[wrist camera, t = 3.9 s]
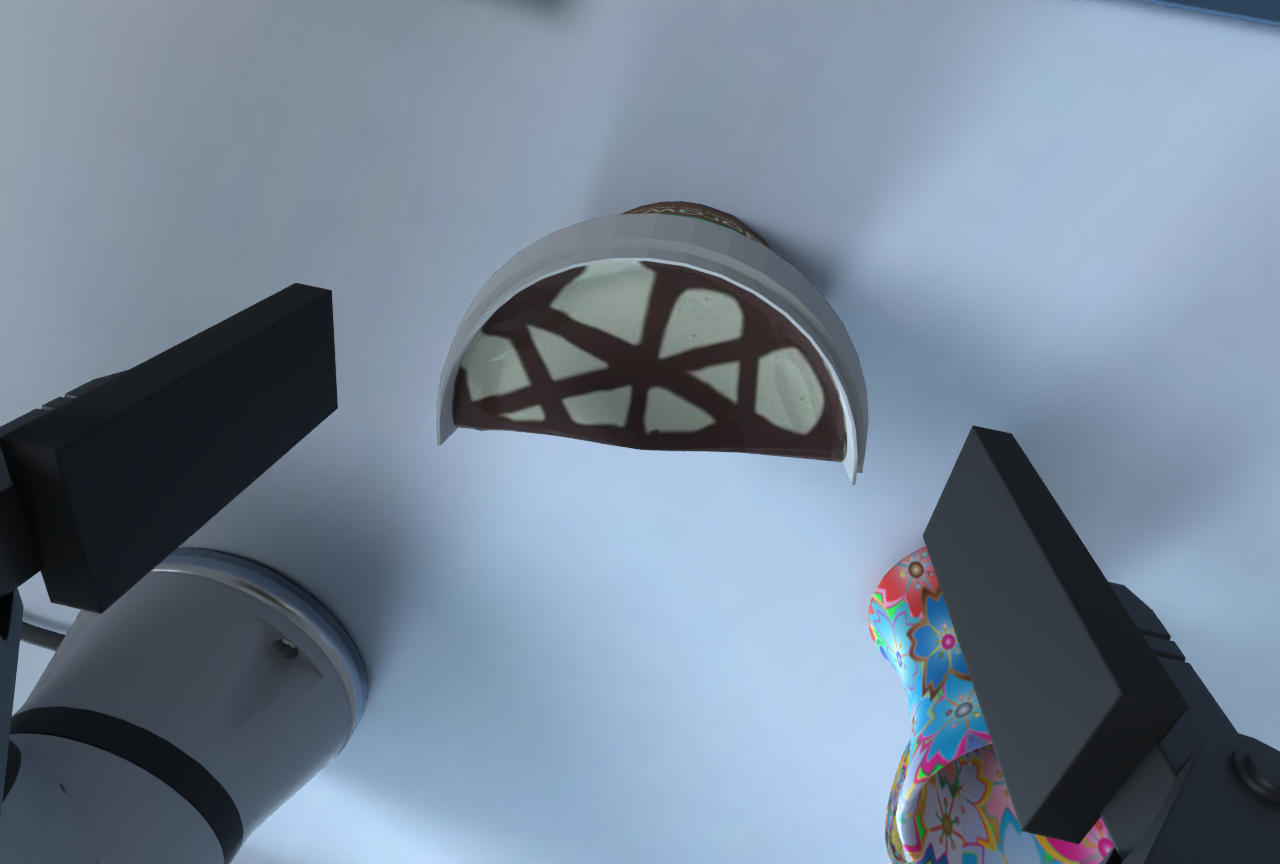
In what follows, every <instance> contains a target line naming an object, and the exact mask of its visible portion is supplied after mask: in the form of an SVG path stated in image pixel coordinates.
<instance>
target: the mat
mask: <svg viewBox="0 0 1280 864" xmlns="http://www.w3.org/2000/svg"><path fill="white" fill-rule="evenodd" d="M1137 1H1143V2H1148V3H1154V4H1159V5H1165V6H1170V7H1176V8H1181V9H1187V10H1192V11H1198V12H1203V13H1209V14H1214V15H1220V16H1225V17H1231V18H1236V19H1242V20H1247V21H1253V22H1258V23H1264V24H1269V25H1275V26H1280V0H1137Z"/></svg>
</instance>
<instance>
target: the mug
mask: <svg viewBox="0 0 1280 864" xmlns="http://www.w3.org/2000/svg"><path fill="white" fill-rule="evenodd" d="M869 629H870V633H871V636H872V639H873V641H874V644H875V645H876V647H877V649H878V650H879V652H880V653H881V655H882V656H883V657H884V658H885V659H886V660H887V662H888V663H889V664H891V665H892V666H893V667H894V668H895V670H896V671H897V673H898V675H899V676H900V678H901V680H902V683H903V686H904V688H905V691H906V695H907V699H908V703H909V708H910V716H911V738H910V740H909V742H908V744H907V746H906V748H905V750H904V752H903V755H902V757H901V760H900V762H899V765H898V768H897V771H896V774H895V777H894V780H893V784H892V788H891V792H890V796H889V801H888V806H887V813H886V822H885V843H886V850H887V854H888V857H889V859H890V861H891V862H892V864H1099V863H1100V862H1101V861H1102V860H1103V858H1104V857H1105V856H1106V855H1107V854H1108V853H1109V851H1110V850H1111V849H1112V848H1113V847H1114V845H1113V842H1112V840H1111V838H1110V836H1109V833H1108V831H1107V829H1106V827H1105V824H1104V822H1103V820H1102V818H1101V817H1100V819H1099V820H1098V821H1097V822H1096V824H1095V825H1094V826H1093V827H1092V829H1091V830H1090V831H1089V832H1088V834H1087V835H1086V836H1085V837H1084V839H1083V840H1082V841H1081V842H1080V844H1079V845H1078V844H1074V843H1070V842H1066V841H1061V840H1057V839H1053V838H1049V837H1044V836H1040V835H1036V834H1032V833H1027V832H1023V831H1021V828H1020V825H1019V822H1018V819H1017V816H1016V813H1015V810H1014V807H1013V804H1012V801H1011V798H1010V795H1009V792H1008V789H1007V786H1006V783H1005V780H1004V777H1003V774H1002V771H1001V768H1000V765H999V762H998V759H997V756H996V753H995V750H994V747H993V744H992V741H991V738H990V736H989V733H988V730H987V727H986V724H985V721H984V718H983V715H982V712H981V709H980V706H979V703H978V700H977V697H976V694H975V691H974V688H973V685H972V682H971V679H970V676H969V673H968V670H967V667H966V664H965V661H964V658H963V655H962V652H961V649H960V646H959V643H958V640H957V637H956V634H955V631H954V628H953V625H952V622H951V619H950V616H949V613H948V610H947V607H946V604H945V601H944V598H943V595H942V592H941V589H940V586H939V583H938V580H937V577H936V574H935V571H934V568H933V565H932V562H931V559H930V556H929V553H928V550H927V547H923V548H921V549H919V550H917V551H915V552H913V553H912V554H910V555H908V556H907V557H905V558H904V559H902V560H901V561H900V562H899V563H897V564H896V565H895V566H894V567H893V568H892V569H891V570H890V571H889V572H888V573H887V574H886V575H885V576H884V577H883V579H882V580H881V582H880V583H879V584H878V586H877V588H876V590H875V592H874V594H873V597H872V599H871V603H870V608H869ZM902 844H903V846H904V848H905V850H906V851H907V853H908V854H909V856H910V857H911V859H912V860H913V862H909V863H908V862H907V861H906V859H905V856H904V853H903V847H902Z"/></svg>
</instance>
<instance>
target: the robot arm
mask: <svg viewBox="0 0 1280 864" xmlns="http://www.w3.org/2000/svg"><path fill="white" fill-rule="evenodd" d="M337 408H338V404H337V384H336V365H335V345H334V326H333V306H332V290H327V289H323V288H318V287H313V286H308V285H304V284H299V283H295V284H293V285H291V286H289V287H287V288H285V289H283V290H281V291H279V292H277V293H275V294H274V295H272V296H270V297H268V298H266V299H264V300H262V301H260V302H258V303H256V304H254V305H252V306H251V307H249V308H247V309H245V310H243V311H241V312H239V313H237V314H235V315H233V316H231V317H229V318H228V319H226V320H224V321H222V322H220V323H218V324H216V325H214V326H212V327H210V328H208V329H206V330H205V331H203V332H201V333H199V334H197V335H195V336H193V337H191V338H189V339H187V340H185V341H183V342H182V343H180V344H178V345H176V346H174V347H172V348H170V349H168V350H166V351H164V352H162V353H160V354H158V355H157V356H155V357H153V358H151V359H149V360H147V361H145V362H143V363H141V364H139V365H137V366H135V367H134V368H132V369H130V370H126V371H123V372H119V373H116V374H112V375H108V376H105V377H101V378H97V379H94V380H92V381H90V382H88V383H86V384H84V385H82V386H80V387H78V388H76V389H74V390H72V391H70V392H68V393H66V394H65V397H64V398H63V397H58V398H56V399H54V400H52V401H50V402H48V403H46V404H44V405H42V409H41V410H40V409H34V410H33V411H31V412H29V413H27V414H25V415H23V416H21V417H19V418H17V419H15V420H13V421H11V422H9V423H7V424H5V425H3V426H1V427H0V864H231V862H232V861H233V859H234V858H235V856H236V854H237V853H238V851H239V850H240V848H241V847H242V845H243V844H244V842H245V841H246V839H247V838H248V837H249V836H250V834H251V833H252V832H253V831H254V830H256V829H257V828H258V827H259V826H260V825H261V824H262V823H263V822H264V821H265V820H267V819H268V818H269V817H270V816H271V815H272V814H273V813H274V812H275V811H277V810H278V809H279V808H280V807H281V806H282V805H283V804H284V803H285V802H286V801H288V800H289V799H290V798H291V797H292V796H293V795H294V794H295V793H296V792H297V791H299V790H300V789H301V788H302V787H303V786H304V785H305V784H306V783H307V782H308V781H310V780H311V779H312V778H313V777H314V776H315V775H316V774H317V773H318V772H319V771H320V770H321V769H323V768H324V767H325V766H326V765H327V764H328V763H329V762H330V761H331V760H333V759H334V758H335V757H336V756H337V755H338V754H339V753H340V752H341V751H342V749H343V748H344V747H345V745H346V743H347V742H348V740H349V738H350V736H351V735H352V733H353V731H354V729H355V728H356V726H357V724H358V723H359V721H360V719H361V717H362V715H363V713H364V710H365V708H366V704H367V698H368V683H367V676H366V672H365V668H364V665H363V662H362V660H361V657H360V655H359V653H358V651H357V649H356V647H355V646H354V644H353V642H352V640H351V639H350V637H349V636H348V635H347V633H346V632H345V630H344V629H343V628H342V626H341V625H340V624H339V623H338V622H337V621H336V619H335V618H334V617H333V616H332V615H331V614H330V613H329V612H328V611H327V610H326V609H325V608H324V607H323V606H322V605H321V604H319V603H318V602H317V601H316V600H315V599H314V598H312V597H311V596H310V595H308V594H307V593H306V592H305V591H303V590H302V589H300V588H299V587H297V586H296V585H294V584H293V583H291V582H290V581H288V580H287V579H285V578H283V577H281V576H280V575H278V574H276V573H274V572H272V571H270V570H268V569H266V568H264V567H262V566H260V565H257V564H255V563H252V562H250V561H247V560H244V559H241V558H238V557H235V556H232V555H228V554H224V553H220V552H215V551H210V550H203V549H193V548H178V547H179V546H180V545H181V544H182V543H184V542H185V541H186V540H187V539H188V538H189V537H190V536H192V535H193V534H194V533H195V532H196V531H197V530H199V529H200V528H201V527H202V526H203V525H204V524H205V523H207V522H208V521H209V520H210V519H211V518H212V517H213V516H215V515H216V514H217V513H218V512H219V511H220V510H221V509H223V508H224V507H225V506H226V505H227V504H228V503H229V502H231V501H232V500H233V499H234V498H235V497H236V496H238V495H239V494H240V493H241V492H242V491H243V490H244V489H246V488H247V487H248V486H249V485H250V484H251V483H252V482H254V481H255V480H256V479H257V478H258V477H259V476H260V475H262V474H263V473H264V472H265V471H266V470H267V469H268V468H270V467H271V466H272V465H273V464H274V463H275V462H277V461H278V460H279V459H280V458H281V457H282V456H283V455H285V454H286V453H287V452H288V451H289V450H290V449H291V448H293V447H294V446H295V445H296V444H297V443H298V442H299V441H301V440H302V439H303V438H304V437H305V436H306V435H308V434H309V433H310V432H311V431H312V430H313V429H314V428H316V427H317V426H318V425H319V424H320V423H321V422H322V421H324V420H325V419H326V418H327V417H328V416H329V415H330V414H332V413H333V412H334V411H335V410H336V409H337ZM923 538H924V541H925V544H926V547H927V550H928V553H929V556H930V559H931V562H932V565H933V568H934V571H935V574H936V577H937V580H938V583H939V586H940V589H941V592H942V595H943V598H944V601H945V604H946V607H947V610H948V613H949V616H950V619H951V622H952V625H953V628H954V631H955V634H956V637H957V640H958V643H959V646H960V649H961V652H962V655H963V658H964V661H965V664H966V667H967V670H968V673H969V676H970V679H971V682H972V685H973V688H974V691H975V694H976V697H977V700H978V703H979V706H980V709H981V712H982V715H983V718H984V721H985V724H986V727H987V730H988V733H989V736H990V738H991V741H992V744H993V747H994V750H995V753H996V756H997V759H998V762H999V765H1000V768H1001V771H1002V774H1003V777H1004V780H1005V783H1006V786H1007V789H1008V792H1009V795H1010V798H1011V801H1012V804H1013V807H1014V810H1015V813H1016V816H1017V819H1018V822H1019V825H1020V828H1021V831H1023V832H1027V833H1032V834H1036V835H1040V836H1044V837H1049V838H1053V839H1057V840H1061V841H1066V842H1070V843H1074V844H1078V845H1079V844H1080V842H1081V841H1082V840H1083V839H1084V837H1085V836H1086V835H1087V834H1088V832H1089V831H1090V830H1091V829H1092V827H1093V826H1094V825H1095V824H1096V822H1097V821H1098V820H1099V819H1100V817H1101V818H1102V820H1103V822H1104V824H1105V827H1106V829H1107V831H1108V833H1109V836H1110V838H1111V840H1112V842H1113V845H1114V847H1113V848H1112V849H1111V850H1110V851H1109V853H1108V854H1107V855H1106V856H1105V857H1104V858H1103V860H1102V861H1101V862H1100V863H1099V864H1280V752H1279V751H1278V750H1276V749H1274V748H1272V747H1270V746H1268V745H1266V744H1264V743H1262V742H1260V741H1258V740H1257V739H1255V738H1252V737H1248V736H1245V735H1242V734H1238V732H1237V731H1236V730H1235V728H1234V727H1233V725H1232V724H1231V722H1230V721H1229V720H1228V718H1227V717H1226V715H1225V714H1224V712H1223V711H1222V709H1221V708H1220V707H1219V705H1218V704H1217V702H1216V701H1215V699H1214V698H1213V697H1212V695H1211V694H1210V692H1209V691H1208V689H1207V688H1206V686H1205V685H1204V684H1203V682H1202V681H1201V679H1200V678H1199V676H1198V675H1197V673H1196V672H1195V671H1194V669H1193V668H1192V666H1191V665H1190V663H1186V662H1185V656H1184V655H1183V653H1182V652H1181V650H1180V649H1179V648H1178V646H1177V645H1176V643H1175V642H1174V641H1170V637H1171V636H1170V635H1169V633H1168V632H1167V630H1166V629H1165V627H1164V626H1163V625H1162V623H1161V622H1160V620H1159V619H1158V617H1157V616H1156V614H1155V613H1154V612H1153V610H1152V609H1150V608H1149V607H1148V606H1147V605H1146V604H1145V603H1144V602H1143V601H1141V600H1140V599H1139V598H1138V597H1137V596H1136V595H1135V594H1133V593H1132V592H1131V591H1130V590H1129V589H1128V588H1127V587H1125V586H1124V585H1120V584H1116V583H1111V582H1108V581H1107V580H1106V578H1105V577H1104V575H1103V573H1102V572H1101V570H1100V569H1099V567H1098V566H1097V564H1096V563H1095V561H1094V560H1093V558H1092V556H1091V555H1090V553H1089V552H1088V550H1087V549H1086V547H1085V546H1084V544H1083V543H1082V541H1081V540H1080V538H1079V536H1078V535H1077V533H1076V532H1075V530H1074V529H1073V527H1072V526H1071V524H1070V523H1069V521H1068V520H1067V518H1066V516H1065V515H1064V513H1063V512H1062V510H1061V509H1060V507H1059V506H1058V504H1057V503H1056V501H1055V499H1054V498H1053V496H1052V495H1051V493H1050V492H1049V490H1048V489H1047V487H1046V486H1045V484H1044V483H1043V481H1042V479H1041V478H1040V476H1039V475H1038V473H1037V472H1036V470H1035V469H1034V467H1033V466H1032V464H1031V462H1030V461H1029V459H1028V458H1027V456H1026V455H1025V453H1024V452H1023V450H1022V449H1021V447H1020V446H1019V444H1018V442H1017V441H1016V439H1015V438H1014V436H1013V435H1012V434H1011V433H1006V432H1002V431H997V430H992V429H987V428H983V427H978V426H972V428H971V430H970V433H969V435H968V437H967V439H966V441H965V444H964V446H963V448H962V450H961V452H960V455H959V457H958V459H957V461H956V464H955V466H954V468H953V470H952V472H951V475H950V477H949V479H948V481H947V483H946V486H945V488H944V490H943V492H942V494H941V497H940V499H939V501H938V503H937V506H936V508H935V510H934V512H933V514H932V517H931V519H930V521H929V523H928V525H927V528H926V530H925V532H924V534H923ZM40 570H41V573H42V576H43V579H44V582H45V585H46V589H47V592H48V595H49V598H50V601H51V602H52V603H56V604H60V605H65V606H69V607H73V608H77V609H81V611H80V612H79V614H78V616H77V618H76V620H75V622H74V623H73V625H72V626H71V628H70V629H69V631H68V633H67V634H66V635H63V634H59V633H56V632H53V631H50V630H46V629H43V628H40V627H37V626H34V625H31V624H28V623H25V622H23V621H22V617H23V604H22V600H21V597H20V594H19V591H18V588H17V587H19V586H20V585H21V584H23V583H24V582H25V581H27V580H28V579H30V578H31V577H32V576H34V575H35V574H36V573H38V572H39V571H40ZM20 640H21V641H24V642H27V643H30V644H33V645H36V646H39V647H43V648H46V649H49V650H52V651H56V652H55V654H54V656H53V657H52V659H51V661H50V662H49V664H48V666H47V667H46V669H45V671H44V672H43V674H42V676H41V677H40V679H39V681H38V682H37V684H36V686H35V687H34V689H33V691H32V692H31V694H30V696H29V697H28V699H27V701H26V702H25V703H24V705H23V706H22V707H21V708H20V709H19V710H18V711H17V712H16V713H15V714H14V715H13V716H12V709H13V699H14V690H15V681H16V672H17V663H18V653H19V644H20Z"/></svg>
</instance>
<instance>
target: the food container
mask: <svg viewBox="0 0 1280 864" xmlns="http://www.w3.org/2000/svg"><path fill="white" fill-rule="evenodd" d="M436 406H437V445H441V444H442V443H443V442H444V441H445V440H446V439H447V438H448V437H449V436H450V435H451V434H452V433H453V432H454V431H455V430H456V429H457V428H458V427H461V428H471V429H476V430H480V431H484V430H505V431H518V432H527V433H537V434H546V435H554V436H561V437H567V438H574V439H579V440H585V441H590V442H596V443H601V444H607V445H614V446H620V447H627V448H633V449H640V450H660V451H712V452H739V453H750V454H762V455H773V456H784V457H795V458H806V459H816V460H826V461H837V462H843V465H844V467H845V469H846V472H847V474H848V476H849V478H850V481H851V483H852V485H855V484H856V472H858V473H862V470H863V463H864V456H865V449H866V440H867V430H868V405H867V392H866V385H865V381H864V377H863V373H862V369H861V366H860V362H859V358H858V355H857V352H856V350H855V348H854V346H853V344H852V342H851V339H850V337H849V335H848V333H847V331H846V329H845V326H844V324H843V323H842V321H841V320H840V319H839V317H838V316H837V314H836V313H835V311H834V310H833V309H832V307H831V306H830V304H829V303H828V301H827V300H826V298H825V297H824V296H823V294H822V293H821V292H820V291H819V290H818V289H817V288H816V287H815V286H814V285H813V284H812V283H811V282H810V281H809V280H808V279H807V278H806V277H805V276H804V275H803V274H802V273H801V272H800V271H799V270H798V269H797V268H795V267H794V266H793V265H791V264H790V263H788V262H787V261H786V260H784V259H783V258H781V257H780V256H779V255H777V254H776V253H774V252H773V251H772V250H771V249H770V247H769V246H768V244H767V243H766V241H765V240H764V239H763V238H761V237H760V236H759V235H757V234H756V233H755V232H753V231H752V230H751V229H750V228H748V227H747V226H746V225H744V224H743V223H742V222H741V221H739V220H738V219H737V218H735V217H734V216H733V215H730V214H727V213H725V212H722V211H719V210H716V209H713V208H711V207H708V206H705V205H702V204H696V203H689V202H682V201H681V202H659V203H654V204H649V205H644V206H640V207H638V208H635V209H632V210H630V211H627V212H625V213H622V214H618V215H613V216H608V217H603V218H598V219H592V220H587V221H583V222H580V223H577V224H575V225H572V226H569V227H567V228H564V229H561V230H559V231H556V232H553V233H551V234H548V235H547V236H545V237H543V238H542V239H540V240H538V241H537V242H535V243H533V244H532V245H530V246H528V247H527V248H525V249H523V250H521V251H520V252H518V253H517V254H516V255H515V256H514V257H513V258H512V259H510V260H509V261H508V262H507V263H506V264H505V265H503V266H502V267H501V268H500V269H499V270H498V271H496V272H495V273H494V274H493V275H492V277H491V278H490V279H489V280H488V282H487V283H486V284H485V285H484V287H483V288H482V289H481V290H480V292H479V293H478V294H477V295H476V297H475V298H474V299H473V301H472V303H471V305H470V307H469V308H468V310H467V312H466V314H465V316H464V318H463V319H462V321H461V323H460V325H459V327H458V330H457V332H456V335H455V337H454V340H453V342H452V345H451V347H450V350H449V353H448V356H447V359H446V362H445V365H444V368H443V371H442V374H441V378H440V385H439V392H438V399H437V405H436Z"/></svg>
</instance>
